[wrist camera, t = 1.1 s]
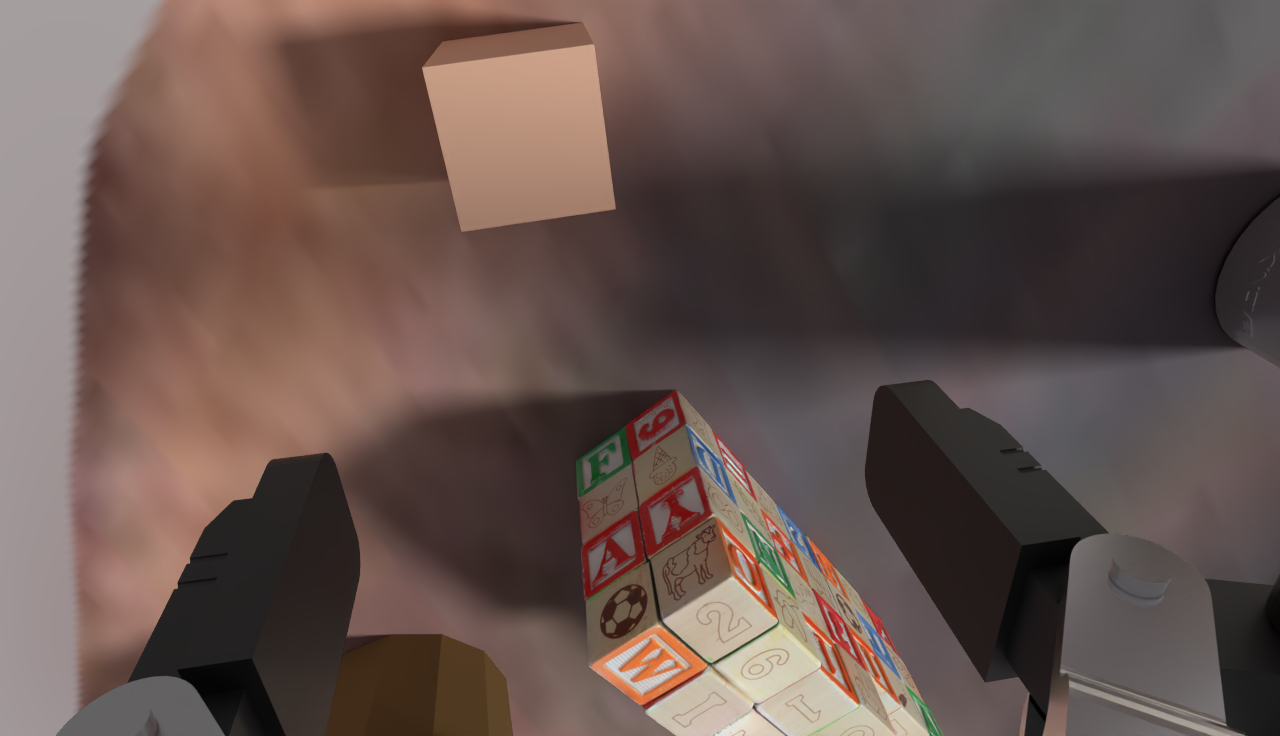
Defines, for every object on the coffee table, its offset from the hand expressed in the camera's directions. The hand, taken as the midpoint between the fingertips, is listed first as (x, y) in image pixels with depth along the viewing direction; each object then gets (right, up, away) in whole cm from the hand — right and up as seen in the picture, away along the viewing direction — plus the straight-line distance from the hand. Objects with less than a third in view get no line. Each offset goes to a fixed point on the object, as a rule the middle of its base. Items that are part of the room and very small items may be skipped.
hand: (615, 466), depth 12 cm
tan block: (-4, +11, +17) cm, 21 cm away
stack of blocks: (+6, -8, +30) cm, 32 cm away
